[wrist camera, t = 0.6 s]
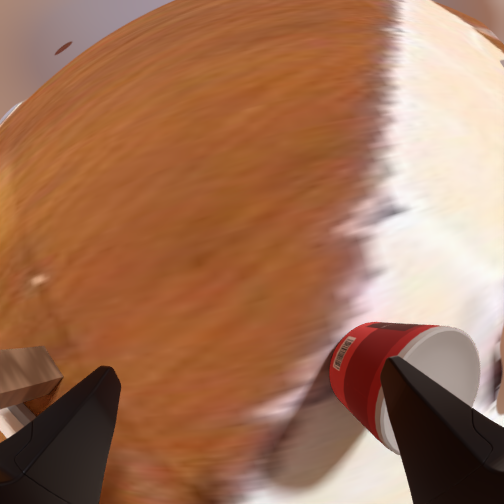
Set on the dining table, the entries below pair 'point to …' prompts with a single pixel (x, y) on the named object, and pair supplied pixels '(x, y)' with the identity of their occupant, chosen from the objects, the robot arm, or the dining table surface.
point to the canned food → (410, 349)
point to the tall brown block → (26, 375)
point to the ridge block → (14, 419)
